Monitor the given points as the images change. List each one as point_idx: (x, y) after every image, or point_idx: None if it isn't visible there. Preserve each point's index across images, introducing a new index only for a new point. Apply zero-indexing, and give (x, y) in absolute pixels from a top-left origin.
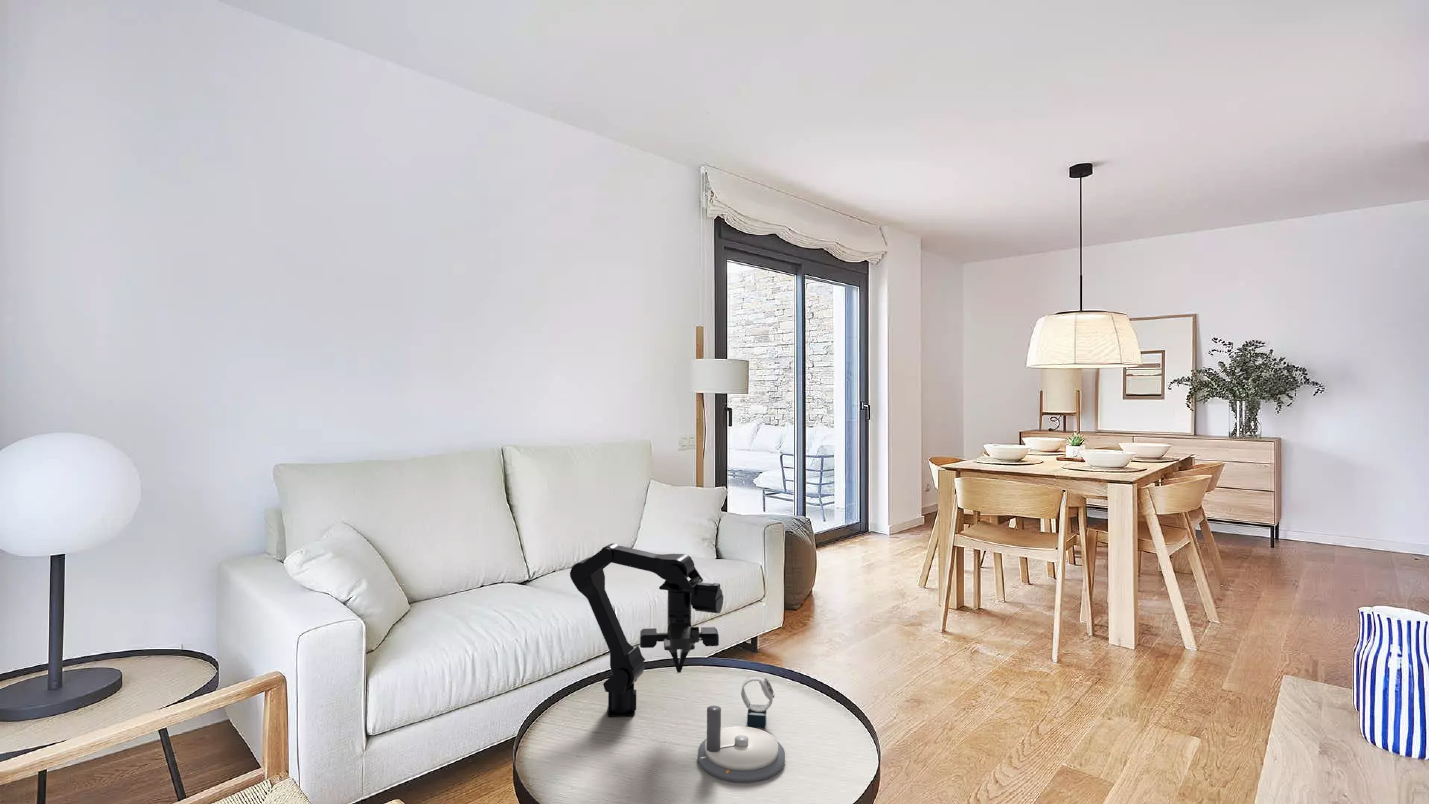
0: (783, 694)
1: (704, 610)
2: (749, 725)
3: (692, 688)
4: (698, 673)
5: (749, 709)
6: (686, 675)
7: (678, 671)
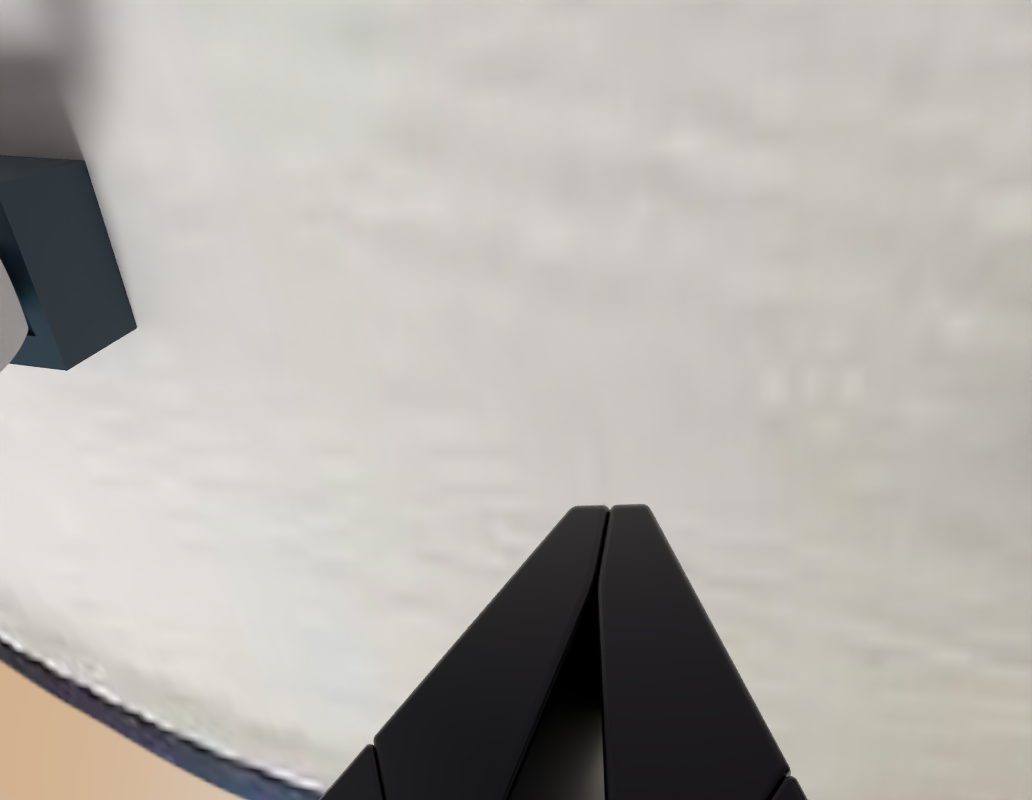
0: (66, 574)
1: None
2: (56, 164)
3: None
4: None
5: (21, 280)
6: None
7: (620, 519)
